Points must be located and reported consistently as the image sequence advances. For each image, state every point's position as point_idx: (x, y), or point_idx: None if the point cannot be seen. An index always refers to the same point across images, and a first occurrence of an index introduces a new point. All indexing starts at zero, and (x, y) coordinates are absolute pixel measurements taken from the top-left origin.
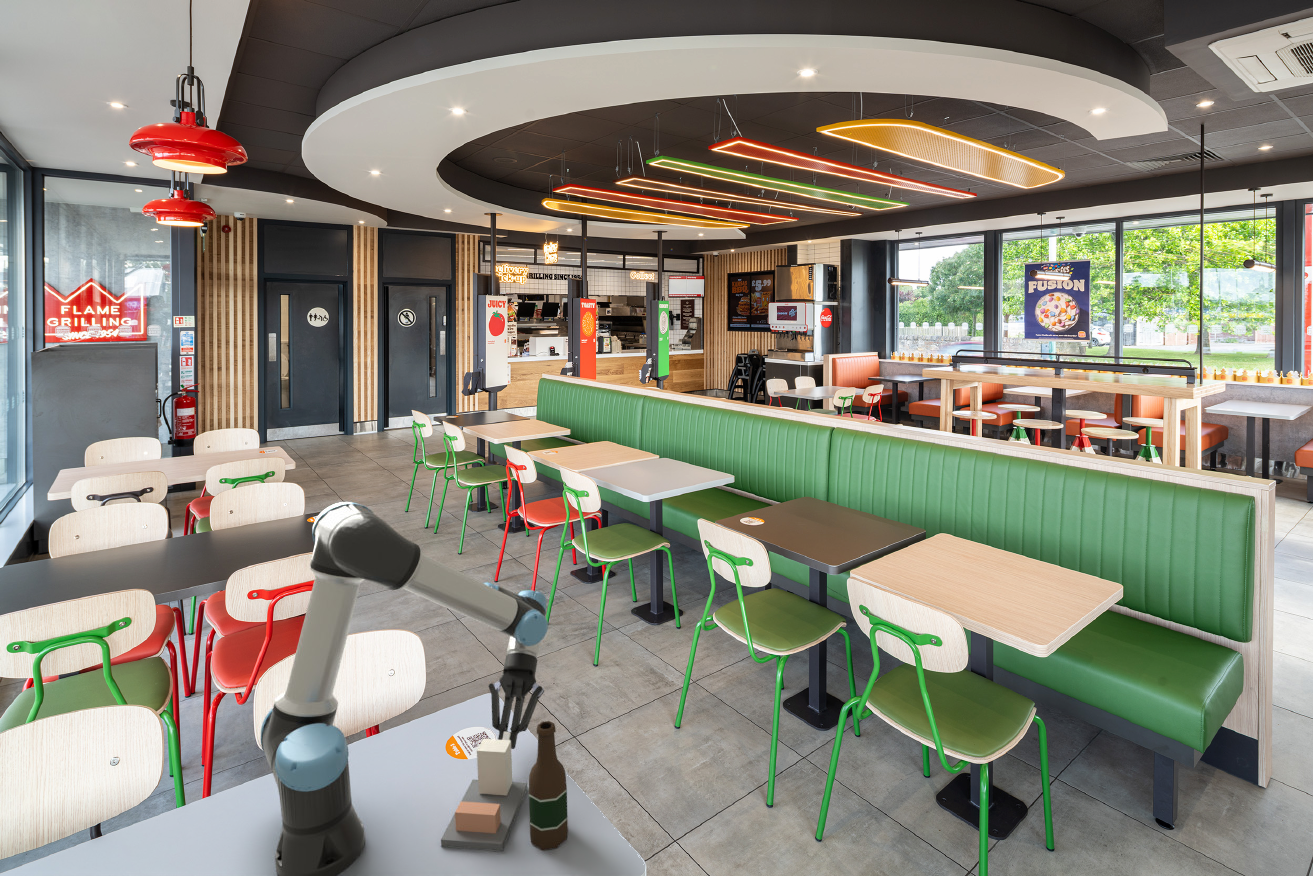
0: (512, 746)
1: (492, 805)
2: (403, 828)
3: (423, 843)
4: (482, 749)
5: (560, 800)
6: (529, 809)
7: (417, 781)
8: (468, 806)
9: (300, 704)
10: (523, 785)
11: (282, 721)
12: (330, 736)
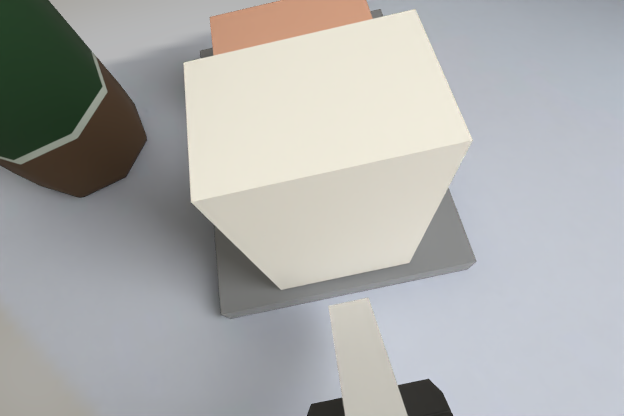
0: (315, 413)
1: (239, 45)
2: (540, 37)
3: (435, 21)
4: (379, 30)
5: None
6: (51, 4)
7: None
8: (327, 14)
9: None
10: (229, 294)
11: None
12: None
